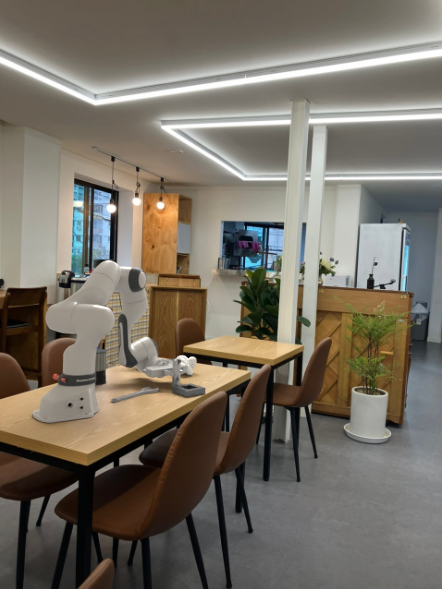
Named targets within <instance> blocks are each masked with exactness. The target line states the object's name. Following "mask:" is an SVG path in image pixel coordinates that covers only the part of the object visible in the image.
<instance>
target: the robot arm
mask: <svg viewBox="0 0 442 589" xmlns="http://www.w3.org/2000/svg"><path fill="white" fill-rule="evenodd" d="M146 286H147V275H146V272H145V271H144V270H143V268H141V267H138V266H137V267H136V266H122V265H119V264H118V263H117V262H115V261H113V260H104V261H102V262H100V263H99V264H98V265H97V266H96V267H95V268H94V270H92V271H91V273H90V275H89V276H88V277H87V279H86V281H85V282H84V283H83V285H82V286H81V287H80V288H79V289H78V290H77V291H76V292H75V293H73V294H71V295H70V296H68V297H67V298H66V299H64V300H62V301H60V302H57V303H54V304H52V305H50V306H49V308H47V310H46V313H45V322H46V325H47V327H48V329H50V330H52V331H55V332H57V333H61V334H72V335H76V339H75V342H74V343H73V344H71V345H68V346H67V348H66V349H65V350H64V351H63V354H62V361H63V362H62V363H63V364H62V372H61V373H60V375H59V374H57V373H54V374H53V375H52V379H53V380H55V381H57V384H56V385H55V386H53V387H52V388H51V389H50V390H48V391H47V392H46V393H45V394H44V395H42V397H41V399H40V403H39V408H38V409H36V410H33V412H32V417H33V418H34V419H35V420H38V421H39V422H43V423H49V424H50V423H52V424H53V423H59V422H66V421H74V420H79V419H86V418H93V417H94V416H95V414H96V413H98V412H99V410H100V408H99V405H98V400H97V399H98V398H97V393H96V392H97V391H96V386H97V385H96V372H95V359H96V350H97V349H98V346H99V344H100V343H101V341H102V340H103V338H104V337H105V336H106V335H108V334H109V333H110V332H111V331H112V330H113V329H114V328H113V327H114V326H115V314H114V312H113V310H112V309H111V308H110V307H107V306H106V305H107V304H108V302H109V301H110V300H111V297H112V296H113V295H114V293H120V297H121V304H122V305H121V312H120V314H119V316H118V319H117V331H118V334H117V336H118V352H117V358H118V361H119V364H120V365H121V366H123V367H125V368H127V369H133V368H134V367H135V369H136V370H137V371H139V372H141V373H143V374H145V375H146V376H147V377H148V378H150V379H151V378H152V379H154V378H155V379H156V378H157V379H163V378H164V377H167V376H168V377H169V376H170V377H172V376H174V372H173V371H172V368H173V361H172V358H167V359H166V358H161V357H159V346H158V345H157V344H158V343H157V342H155V341H156V340H154V339H153V338H151V337H149V336H146V335H145V336H142V337H141V338H139V339H137V340H136V341H133V342H131V339H132V338H131V335H132V334H131V332H132V331H131V330H132V329H133V326H134V325H135V324H136V323H137V321H139V320H140V319H141V318H142V317H143V316H144V315H145V314H146V312H147V310H148V304H149V303H148V296H147V292H146V288H145V287H146ZM187 371H188V365H187V364H184V363H182V362H181V368H180V376H181V375H183V374H187ZM146 376H145V377H146Z"/></svg>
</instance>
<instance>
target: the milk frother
mask: <svg viewBox="0 0 442 589" xmlns="http://www.w3.org/2000/svg"><path fill="white" fill-rule="evenodd" d="M107 353H108V350H107V349H103V348H97V350H96V359H95V372H96V386H100V385H101V386H102V385H105V384H107V375H106V374H107Z"/></svg>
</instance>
